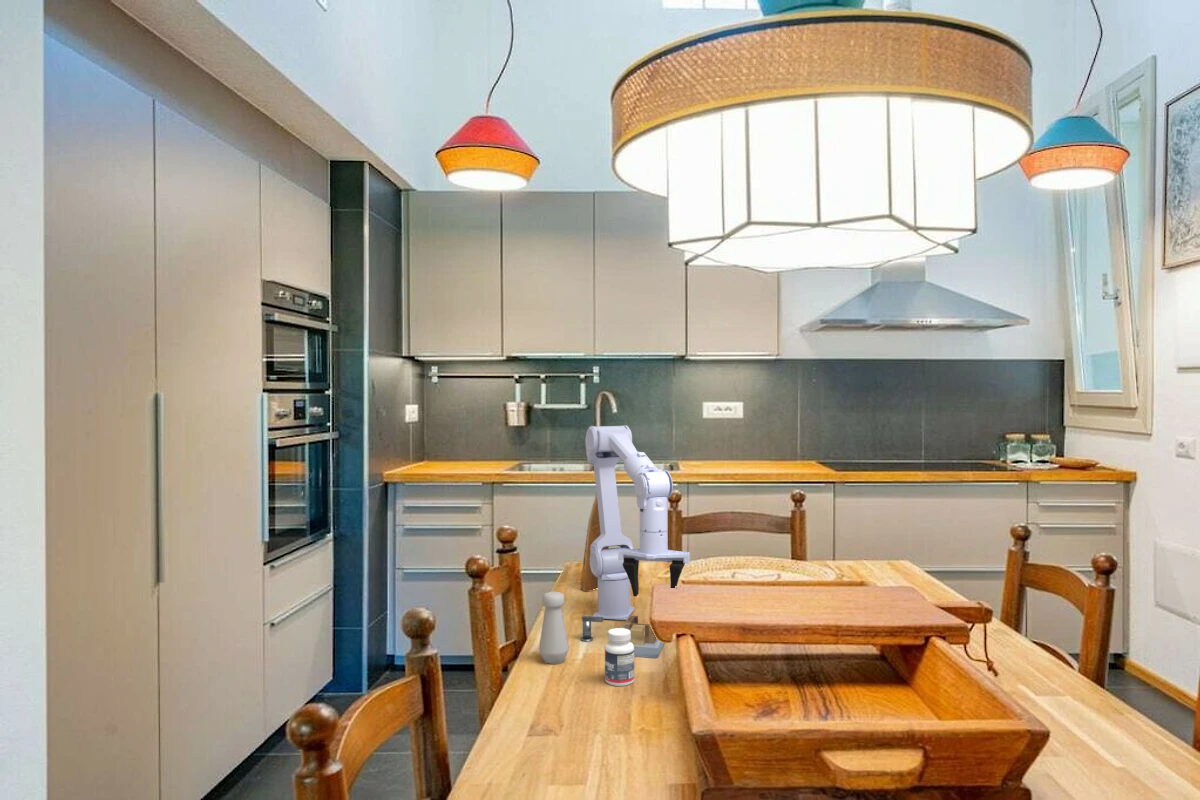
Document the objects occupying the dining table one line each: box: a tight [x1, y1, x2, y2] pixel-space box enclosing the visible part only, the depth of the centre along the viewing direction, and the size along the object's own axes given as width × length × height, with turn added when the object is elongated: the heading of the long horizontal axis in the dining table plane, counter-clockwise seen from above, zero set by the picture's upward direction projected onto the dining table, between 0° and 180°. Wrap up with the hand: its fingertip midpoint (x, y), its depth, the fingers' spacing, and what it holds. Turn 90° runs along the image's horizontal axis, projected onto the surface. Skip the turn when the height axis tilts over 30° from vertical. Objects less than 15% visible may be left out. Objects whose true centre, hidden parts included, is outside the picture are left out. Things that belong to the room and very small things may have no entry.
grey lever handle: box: [580, 615, 604, 643], centre depth 150 cm, size 3×5×5 cm, turn 76°
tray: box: [621, 623, 665, 659], centre depth 147 cm, size 13×10×2 cm
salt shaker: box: [538, 591, 570, 665], centre depth 139 cm, size 6×6×13 cm
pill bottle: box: [604, 627, 635, 687], centre depth 129 cm, size 5×5×9 cm
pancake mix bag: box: [580, 491, 610, 592], centre depth 196 cm, size 7×19×28 cm, turn 163°
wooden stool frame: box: [624, 615, 656, 646], centre depth 148 cm, size 9×6×4 cm, turn 166°
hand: (654, 596), depth 148 cm, fingers open, 7 cm apart
